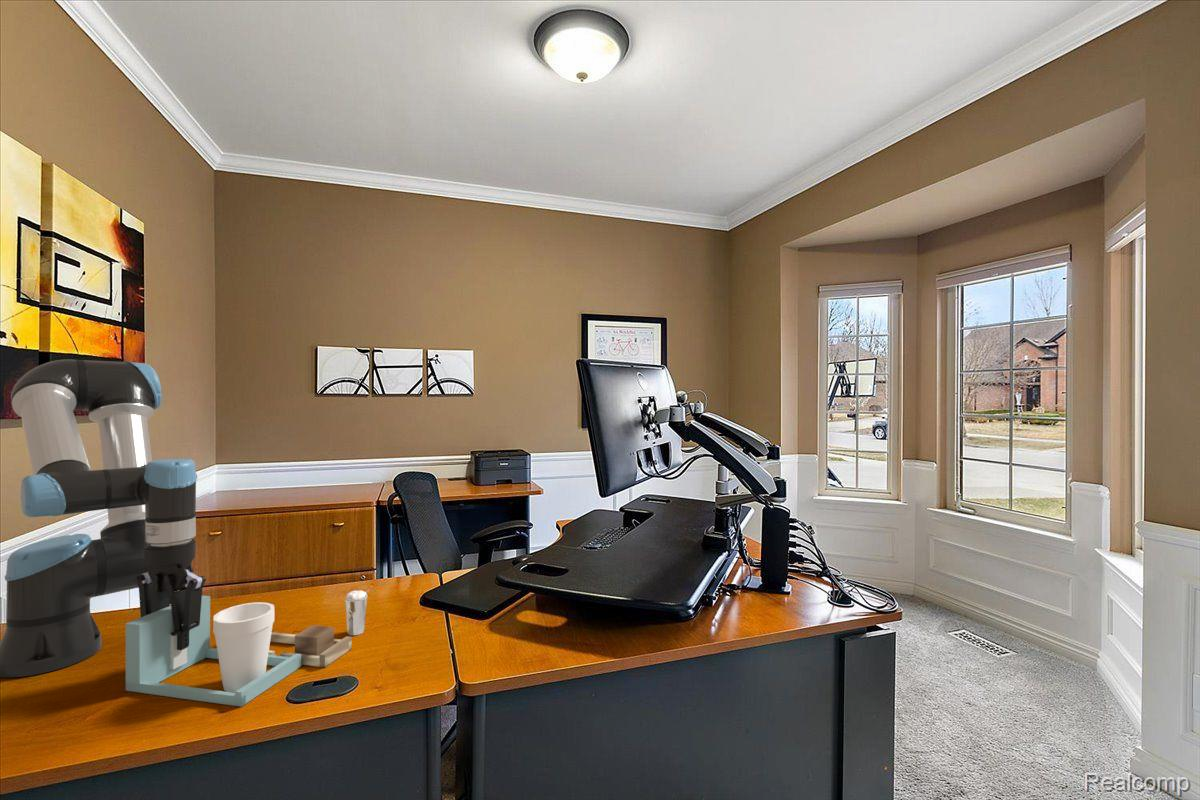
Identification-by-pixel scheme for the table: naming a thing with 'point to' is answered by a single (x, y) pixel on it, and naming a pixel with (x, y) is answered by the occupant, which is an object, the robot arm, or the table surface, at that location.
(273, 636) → the slat
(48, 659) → the robot arm
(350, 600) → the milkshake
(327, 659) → the slat
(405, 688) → the table surface
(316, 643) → the walnut block
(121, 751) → the table surface
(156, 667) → the teal frame with backboard
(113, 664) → the table surface
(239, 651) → the foam cup
